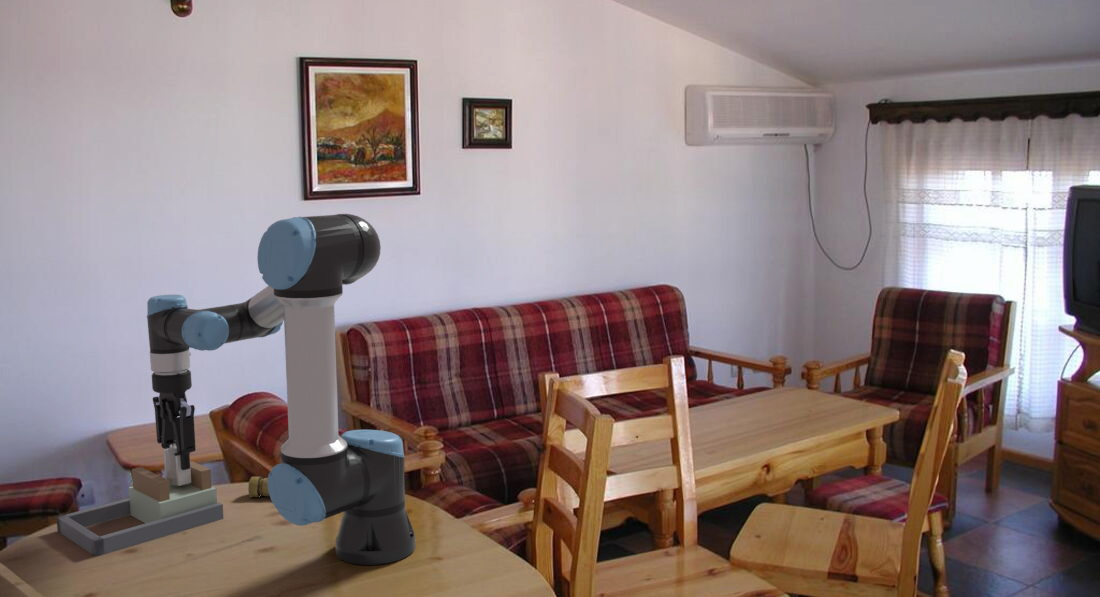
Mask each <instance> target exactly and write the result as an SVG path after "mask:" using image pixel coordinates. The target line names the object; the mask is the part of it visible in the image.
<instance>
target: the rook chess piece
mask: <svg viewBox="0 0 1100 597" xmlns="http://www.w3.org/2000/svg"><path fill="white" fill-rule="evenodd" d="M169 447H170V448H169V449H168V452H169V453H170V457H169V458H170V459H171V465H170V471H169V473H168V475H167V478H168V480H169V485H177V474H176V459H175V455H174V453H177V447H176V444H173V446H172V445H170V446H169Z"/></svg>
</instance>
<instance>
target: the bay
mask: <svg viewBox="0 0 1100 597" xmlns="http://www.w3.org/2000/svg"><path fill="white" fill-rule="evenodd" d="M127 516H131V513H130V499H129V497H127V498H123V499H120V500H117V501H113V502H109V503H106V504H105V503H104V504H101V505H98V506H93V507H90V508H85V509H82V510H78V511H75V512H71V513H67V514H63V515H60V516H56V529H57V532H58V533H59V534H60V535H62V536H63V537H65V538H66V539H68V540H70V541H71V542H73V543H74V544H75V545H77V546H79V547H80V548H82V549H83V550H85V551H86V552H88V553H89V554H91V555H92V556H94V557H96V558H97V557H100V556H103V555H107V554H109V553H113V552H116V551H119V550H120V551H121V550H123V549H127V548H130V547H133V546H136V545H140V544H143V543H147V542H150V541H154V540H156V539H159V538H163V537H166V536H170V535H174V534H177V533H180V532H183V531H186V530H191V529H194V528H197V527H200V526H204V525H206V524H211V523H215V522H216V521H221V520H224V519H225V518H224V504H223V503H221V502H217V503H216V504H212V505H209V506H205V507H202V508H198V509H195V510H191V511H188V512H184V513H181V514H177V515H174V516H170V517H167V518H163V519H160V520H156V521H152V522H149V523H142V524H139V525H135V526H132V527H131V526H130V527H129V528H125V529H121V530H118V531H114V532H111V533H108V534H104V535H97V534H96V533H95V532H94V531H91V530H90V529H89V528H87V527H90V526H95V525H98V524H101V523H105V522H110V521H113V520H116V519H119V518H124V517H127Z"/></svg>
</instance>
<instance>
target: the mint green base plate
mask: <svg viewBox="0 0 1100 597" xmlns="http://www.w3.org/2000/svg"><path fill="white" fill-rule="evenodd" d="M190 468H191V483H188V484H184V485H181V486H178V485H169V480H167V479H165V477H163V476H161V475H159V474H157V473H155V472H153V471H151V470H148V469H147V468H144V467H143V466H140V467H139V466H138V467H136V468H135V467H134V468H132V469H131V474H132V475H131V477H132V486H129V487H128V494H129V495H128V498H129V499H130V513H131V515H130V516H132V517H134V518H135V519H136V520H139V521H141V522H142V523H143V524H145V523H149V522H152V521H156V520H160V519H163V518H167V517H170V516H174V515H177V514H181V513H184V512H188V511H191V510H195V509H198V508H202V507H205V506H209V505H212V504H216V503H218V497H217V496H218V494H217V488H216V487H214V486H212V472H211V468H208V467H207V466H204V465H202V464H200V463H197V462H196V461H193V460H191V459H190Z"/></svg>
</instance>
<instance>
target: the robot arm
mask: <svg viewBox="0 0 1100 597" xmlns="http://www.w3.org/2000/svg"><path fill="white" fill-rule="evenodd" d="M259 240H260V241H259V244H258V249H257V256H256V257H257V259H256V260H257V267H258V270H259V273H260V274H261V275H262V277H261V279H262V281H264V283H265V285H267V286H265V288H263V289H262V290H260V291H259V292H257V293H255V295H253V296H251V298H249V299H248V300H246V301H243V302H241V303H234V304H228V305H221V306H215V307H208V308H201V309H200V308H199V309H193V308H188V303H187V299H186V297H185V296H184V295H181V294H159V295H154V296H151V297H150V298H149V299H148V300H147V304H146V305H147V306H146V307H147V312H146V313H147V315H146V319H147V330H148V331H147V332H148V344H149V359H150V370H151V372H152V374H151V385H152V387H151V388H152V391H153V392H154V393H156V394H157V393H158V396H154V397H152V403H153V408H154V415H155V417H154V418H155V420H154V421H155V430H156V442H157V444H160V445H161V448H162V449H163V462H164V478H165V479H167V480H168V478H167V475H168V473H169V471H170V465H171V459H170V458H169V457H170V453H169V452H168V449H169V448H170V447H169V446H170V445H172V446H173V444H176V447H177V453H174V455H175V459H176V474H177V485H178V486H181V485H184V484H188V483H191V468H190V460H191V456H190V455H191V454H190V453H193V452H196V434H195V433H196V432H195V410H196V407H195V405H194V404H190V405H189V404H188V398H187V395H186V392H187V391H188V390H191V388H192V383H193V382H192V371H190V368H191V358H190V357H191V355H192V352H190V348H191V349H194V350H196V351H197V350H198V351H201V352H202V351H204V352H205V351H211V352H212V351H215V350H216V351H217V350H218V349H219V348H221V347H222V346H224V344H230V343H234V342H239V341H245V340H251V339H257V338H265V337H267V336H270V335H271V336H272V335H273V334H277V333H278V332H279V331H280V330H281V327H282V325H283V324H284V326H283V327H284V346H285V347H284V348H285V352H284V354H285V373H286V375H285V376H286V395H287V396H286V397H287V398H286V399H287V420H288V422H287V423H288V424H287V425H288V427H287V428H288V439H287V440H286V441H285V442H284V443H283V444H282V445H281V446H280V463H278V464H274V466H273V467H272V468H271V469H270V471H269V473H268V474H267V478H268V491H269V495H270V496H269V498H270V500H271V502H272V505H273V506H274V508H275V509H276V510H277V513H278V514H279V515H280V516H281V517H282V518H283V519H284V520H285V521H287V522H288V523H290V524H292V525H295V526H299V527H303V526H308V525H311V524H314V523H321V522H323V521H324V520H325V519H328V518H330V517H333V516H337V515H339V514H341V513H343V514H342V517H341V520H340V525H339V529H338V533H337V536H336V538H335V544H334V545H335V555H336V557H337V558H338V559H340V560H342V561H344V562H346V563H350V564H354V565H360V566H362V565H363V566H365V565H366V566H372V565H384V564H389V563H393V562H396V561H397V562H398V561H401V560H403V559H405V558H407V557H408V556H410V555H411V554H412V553H414V551H415V550H416V534H415V531H414V528H413V526H412V522H411V520H410V517H409V515H408V512H407V508H406V488H405V487H406V484H405V457H406V456H405V454H404V443H403V442H404V441H403V439H402V438H401V437H400V436H399V435H398V434H396V433H393V432H390V431H385V430H379V429H353V430H352V429H351V430H348V431H345V432H343V433H342V434H341V435H340V434H339V414H338V413H339V412H338V409H339V408H338V386H337V385H338V383H337V377H338V376H337V349H336V348H337V347H336V323H335V322H336V320H335V316H336V315H335V303H336V302H337V301H338V300H339V299H340V297H342V296H343V293H344V292H343V290H344V289H343V286H345V285H347V286H349V285H351V284H353V283H355V282H356V281H358V280H360V279H361V278H364V276H366V275H367V274H369V273H370V272H371V271H373V269H374V268H375V267H376V266H377V263H378V261H379V259H380V256H381V240H380V237H379V235H378V233H377V231H376V229H375V228H374V227H373V225H372V224H371V223H370V222H368V221H367V220H366V219H364V218H363V217H360V216H359V215H354V214H350V213H337V214H327V215H326V214H325V215H312V216H294V217H290V218H285V219H284V218H283V219H280V220H278V221H275V222H273V223H272V224H271V225H269V226H268V227H267V229H266V230H265V232H264V233H263V234H262V236H261V238H260V239H259Z"/></svg>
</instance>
